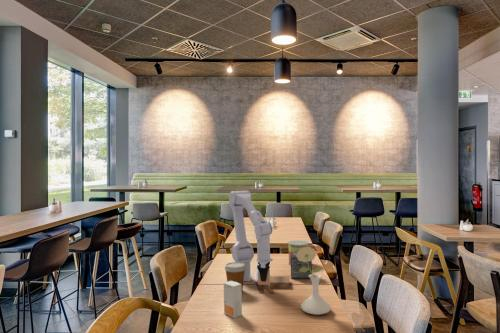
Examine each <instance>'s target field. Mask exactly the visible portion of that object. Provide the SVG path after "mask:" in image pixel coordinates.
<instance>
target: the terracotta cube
mask: <svg viewBox="0 0 500 333" xmlns="http://www.w3.org/2000/svg"><path fill="white" fill-rule="evenodd" d="M270 271H271V270H270V269H269V270H268V273H267V279H266V282H265V281H261V278H260V273H259V270H258V272H257V276H258V277H257V278H258V279H257V282H258V283H257V285H260V286H261V285H264V286H265V285H268V286H270V276H271V274H270V273H271V272H270Z"/></svg>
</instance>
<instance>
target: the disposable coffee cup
mask: <svg viewBox="0 0 500 333" xmlns="http://www.w3.org/2000/svg"><path fill="white" fill-rule="evenodd" d="M245 268H246V267H245V264H244V263H241V262H232V261H231V262H227V263H226V264H225V266H224V270H225V275H226V280H227V281H226V282H228V281H234V282H237V283H240V284H241V285H242V291H243V289H244V288H243V287H244V281H243V280H244V271H245Z"/></svg>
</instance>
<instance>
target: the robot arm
mask: <svg viewBox="0 0 500 333" xmlns="http://www.w3.org/2000/svg"><path fill="white" fill-rule="evenodd" d="M228 202H229V207H230V208H231V210H232V215H233V216H232V218H233V224H234V231H235V232H234V233H235V238H236V240H235V241H236V242H235V243H234V244H233V245H232V247H231V250H232V253H231V257H232V259H233V260H232V261H231V262H241V263H244V264H245V267H246V268H245V271H244V280H243V282H251V281H252V278H253V275H252V274H251V262H252V260H253V258H254V257H255V252H254V248H253V246H252V243H250V242H249V241H248V240H247V233H246V227H245V226H246V225H245V219H244V212H243V210H244V209H245V210H246V212H247V213H248V214H249V220H250V222H251V223H252V225H253V226H254V233H255V239H256V243H257V244H256V245H257V247H256V248H257V249H256V250H257V252H256V253H257V256H256V258H257V259H256V262H257V265H256V269H257V270H258V271H259V273H260V278H261V281H265V282H266V279H267V273H268V270H270V268H271V266H270V263H271V262H273V258H271V244H270V242H271V240H270V239H271V238H270V236H271V234H272V233H273V226H272V223H271V222H270V221H267V220H266V219H265V218H264V216H263V215H262V213H261V211H259V210H257V209H256V207H255V206H254V204H253V201H252V194H251V192H250V191H249V190H247V189H246V190H235V191H234V190H232V191H230V193H229V196H228Z"/></svg>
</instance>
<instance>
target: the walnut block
mask: <svg viewBox="0 0 500 333" xmlns="http://www.w3.org/2000/svg"><path fill="white" fill-rule="evenodd" d="M290 283H291V282H290V276H287V275H286V276H282V275H281V276H280V275H279V276H276V275H275V276H273V275H272V276H271V275H270V284H269V289H290Z"/></svg>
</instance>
